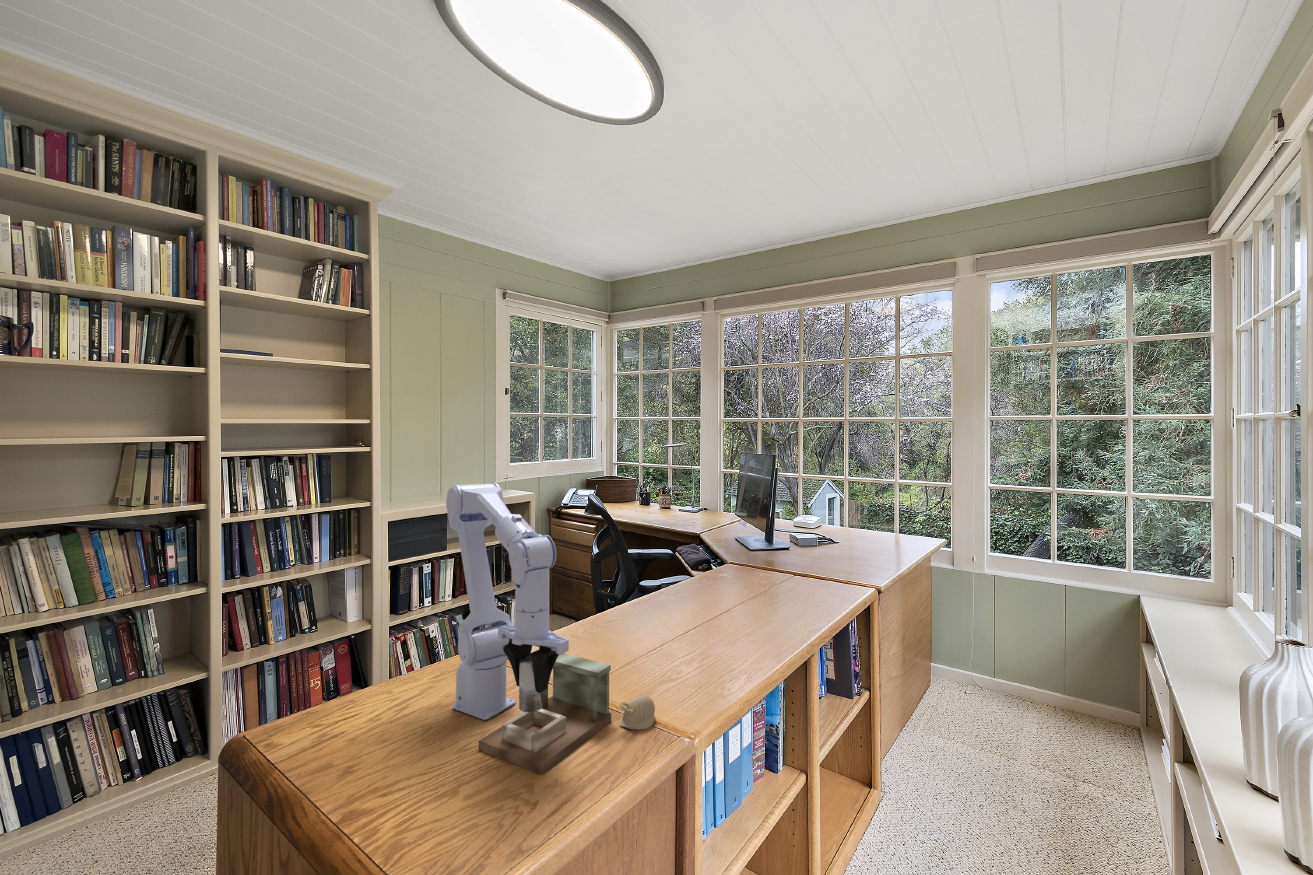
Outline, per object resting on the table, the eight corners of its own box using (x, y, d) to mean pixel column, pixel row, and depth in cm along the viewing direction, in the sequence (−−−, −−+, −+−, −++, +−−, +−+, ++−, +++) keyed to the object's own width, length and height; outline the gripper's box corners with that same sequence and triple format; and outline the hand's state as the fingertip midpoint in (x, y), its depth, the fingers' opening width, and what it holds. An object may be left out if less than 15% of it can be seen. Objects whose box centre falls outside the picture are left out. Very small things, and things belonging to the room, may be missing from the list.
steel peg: (514, 707, 93) (514, 660, 93) (531, 698, 96) (532, 653, 96) (530, 714, 90) (530, 666, 90) (547, 704, 94) (548, 658, 94)
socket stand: (478, 749, 92) (479, 687, 92) (553, 702, 108) (553, 650, 108) (541, 774, 85) (541, 707, 85) (611, 721, 101) (611, 665, 101)
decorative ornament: (661, 722, 101) (661, 693, 101) (624, 737, 96) (624, 706, 96) (648, 714, 104) (648, 685, 104) (611, 727, 99) (612, 698, 99)
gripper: (484, 607, 94) (484, 686, 94) (548, 621, 86) (548, 707, 86) (514, 597, 100) (514, 671, 100) (576, 609, 92) (576, 689, 92)
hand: (532, 686), depth 93 cm, fingers closed on steel peg, 4 cm apart
